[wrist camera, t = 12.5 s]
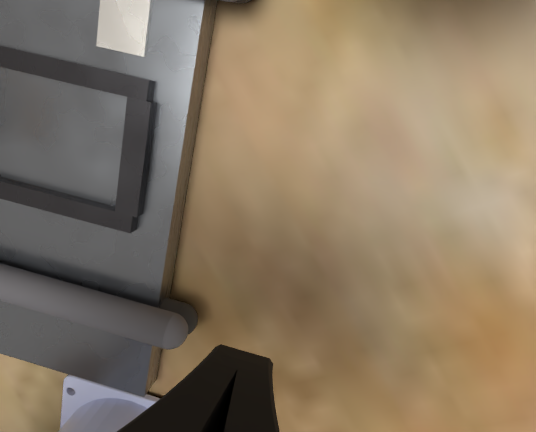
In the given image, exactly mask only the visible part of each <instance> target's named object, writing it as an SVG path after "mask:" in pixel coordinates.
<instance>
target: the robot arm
mask: <svg viewBox="0 0 536 432" xmlns="http://www.w3.org/2000/svg"><path fill="white" fill-rule="evenodd" d="M272 369H273V363H272V362H271V360H270V359H269V358H266V357H262V356H259V355H256V354H252V353H249V352H245V351H242V350H238V349H235V348H231V347H228V346H224V345H219V346H217V347H215V348H214V349H213V350H212V352H211V353H210V354H209V355H208V356H207V357H206V358H205V359H204V360H203V361H202V362H201V363H200V364H199V365H198V366H197V367H196V368H195V369H194V370H193V371H192V372H191V373H190V374H188V375H187V376H186V377H185V378H184V379H183V380H182V381H181V382H179V383H178V384H177V385H176V386H175V387H174V388H173V389H171V390H170V391H169V392H168V393H167V394H166V395H164V396H163V397H162V398H157V397H154V396H151V395H147V394H146V395H145V397H142V396H138V395H135V394H132V393H128V392H125V391H122V390H119V389H115V388H112V387H109V386H106V385H102V384H99V383H96V382H92V381H89V380H86V379H83V378H79V377H76V376H73V375H70V374H68V375H67V376H66V377H65V379H64V383H63V396H62V409H61V422H60V430H59V431H58V432H279V426H278V421H277V416H276V409H275V403H274V394H273V382H272ZM72 388H73V389H74V390H73V389H72Z"/></svg>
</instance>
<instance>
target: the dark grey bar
mask: <svg viewBox="0 0 536 432" xmlns="http://www.w3.org/2000/svg"><path fill="white" fill-rule="evenodd" d="M0 301H3V302H6V303H9V304H13V305H16V306H20V307H23V308H26V309H30V310H33V311H37V312H40V313H44V314H47V315H50V316H54V317H57V318H61V319H64V320H67V321H71V322H74V323H78V324H81V325H85V326H88V327H91V328H95V329H98V330H102V331H105V332H108V333H112V334H115V335H119V336H122V337H126V338H129V339H132V340H136V341H139V342H143V343H146V344H149V345H153V346H156V347H160V348H163V349H174V348H177V347H179V346H180V345H181V344H182V343H183V342H184V341H185V339H186V338H187V335H188V334H190V333H191V332H192V331H193V330H194V329H195V327H196V325H197V322H198V316H197V312H196V310H195V309H194V308H193V307H192V306H191V305H190V304H187V303H184V302H180V301H177V300H173V299H170V298H165V299H164V300H163V302H162V303H161V305H160V307H159V308H156V307H153V306H149V305H146V304H142V303H139V302H135V301H132V300H128V299H125V298H121V297H118V296H114V295H111V294H107V293H104V292H100V291H97V290H93V289H89V288H86V287H82V286H79V285H75V284H72V283H68V282H65V281H61V280H58V279H54V278H51V277H47V276H44V275H40V274H37V273H33V272H30V271H26V270H22V269H19V268H15V267H12V266H8V265H5V264H1V263H0Z"/></svg>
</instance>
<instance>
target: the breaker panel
mask: <svg viewBox="0 0 536 432" xmlns="http://www.w3.org/2000/svg"><path fill="white" fill-rule="evenodd" d="M216 7H217V0H0V263H1V264H5V265H8V266H12V267H15V268H19V269H22V270H26V271H30V272H33V273H37V274H40V275H44V276H47V277H51V278H54V279H58V280H61V281H65V282H68V283H72V284H75V285H79V286H82V287H86V288H89V289H93V290H97V291H100V292H104V293H107V294H111V295H114V296H118V297H121V298H125V299H128V300H132V301H135V302H139V303H142V304H146V305H149V306H153V307H156V308H159V307H160V305H161V303H162V302H163V300H164V299H165V298H170V292H171V286H172V280H173V274H174V268H175V261H176V255H177V249H178V243H179V236H180V230H181V224H182V218H183V212H184V205H185V199H186V193H187V187H188V181H189V174H190V168H191V162H192V156H193V149H194V143H195V137H196V131H197V125H198V118H199V112H200V106H201V100H202V94H203V87H204V81H205V75H206V69H207V62H208V56H209V50H210V44H211V38H212V31H213V25H214V19H215V13H216ZM0 353H1V354H4V355H7V356H11V357H14V358H17V359H20V360H24V361H27V362H30V363H34V364H37V365H40V366H43V367H47V368H50V369H53V370H56V371H60V372H63V373H66V374H70V375H73V376H76V377H79V378H83V379H86V380H89V381H92V382H96V383H99V384H102V385H106V386H109V387H112V388H115V389H119V390H122V391H125V392H128V393H132V394H135V395H138V396H142V397H145V395H146V394H147V392H148V391H149V389H150V388H151V386H152V385H153V383H154V381H155V380H156V378H157V373H158V367H159V361H160V355H161V348H160V347H156V346H153V345H149V344H146V343H143V342H139V341H136V340H132V339H129V338H126V337H122V336H119V335H115V334H112V333H108V332H105V331H102V330H98V329H95V328H91V327H88V326H85V325H81V324H78V323H74V322H71V321H67V320H64V319H61V318H57V317H54V316H50V315H47V314H44V313H40V312H37V311H33V310H30V309H26V308H23V307H20V306H16V305H13V304H9V303H6V302H3V301H0Z"/></svg>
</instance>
